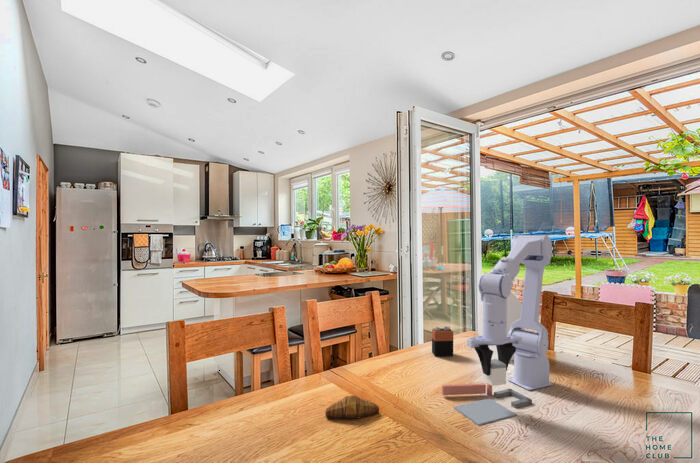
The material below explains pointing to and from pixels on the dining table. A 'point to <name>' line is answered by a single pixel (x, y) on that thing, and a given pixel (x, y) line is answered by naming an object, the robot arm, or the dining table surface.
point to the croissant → (352, 408)
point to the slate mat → (484, 411)
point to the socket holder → (522, 399)
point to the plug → (496, 373)
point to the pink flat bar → (466, 389)
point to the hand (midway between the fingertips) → (494, 373)
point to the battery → (442, 341)
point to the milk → (512, 316)
